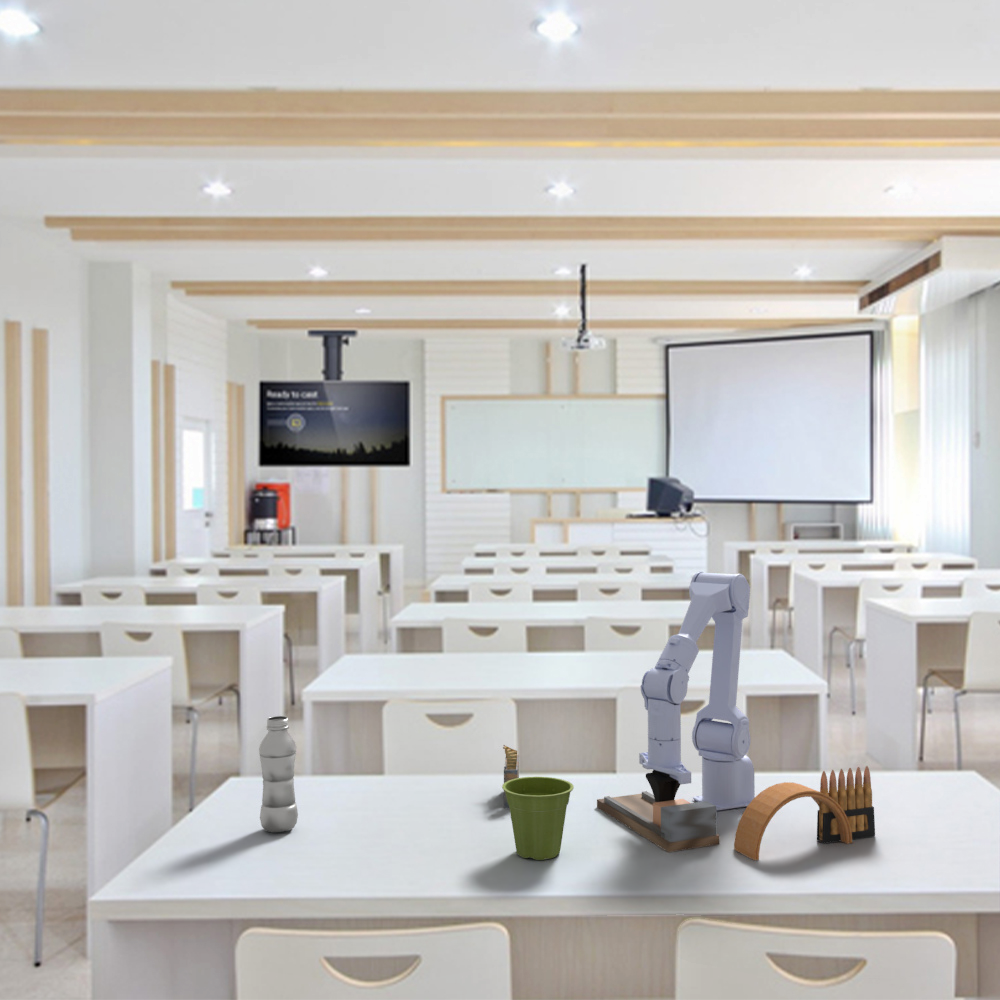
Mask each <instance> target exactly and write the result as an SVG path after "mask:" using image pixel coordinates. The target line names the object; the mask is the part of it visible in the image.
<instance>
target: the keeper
mask: <svg viewBox="0 0 1000 1000" xmlns="http://www.w3.org/2000/svg"><path fill="white" fill-rule="evenodd" d="M688 803H691V802H690V801H688V800H686V799H684V798H677V799H674V800H670V801H662V802H655V803H653V823H655V824H657V825H658V826H660V827H661V807H666V806H673V805H681V804H688Z"/></svg>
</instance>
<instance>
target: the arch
mask: <svg viewBox="0 0 1000 1000" xmlns="http://www.w3.org/2000/svg"><path fill="white" fill-rule="evenodd" d="M808 797H809V798H811V799H812V800H813V801H814V802H815V803H816V804H817V806H818V807H819V801H821V802H823V803H825V804H826V805H827V806H828V807H829V811H830V812H833V814H834V815H835V817H836V820H837V823H838V834H840V836H841V841H840V842H842V843H845V844H847V845H849V844H853V839H852V832H851V828H850V824H849V821H848V818H847V816H846V814H845V812H844V811H843V809H842V808H841V806H840V805H839V804H838V803H837V802H836V801H835V800H834V799H832V798H831V797H830V796H828V795H826V794H823V793H821V792H820V790H819V791H818V790H816V789H814V788H811V787H808V786H805V785H803V784H800V783H796V782H790V781H789V782H786V781H785V782H780V783H776V784H774V785H773V784H772V785H771V786H768V787H766V788H765V789H764V790H761V792H760V793H758V794H756V795H755V798H754V799H753V800H752V801H751V802H750V804H749V805H748V806H746V808H745V810H744V811H743V813H742V815H741V817H740V820H739V821H738V824H737V828H736V831H735V834H734V835H735V836H734V843H733V850H734V851H737V852H738V853H740V854H741V855H744V856H745V857H747V858H749V859H751V860H753V861H759V860H760V849H761V844H762V839H763V836H764V834H765V831H766V829H767V827H768V825H769V823H770V822H771V820H772V819H773V817H774V816H775V815H776V814H777V812H779V810H781V809H782V808H783V807H784V806H785V805H787V804H789V803H790V802H792V801H795V800H797V799H800V798H801V799H802V798H808Z"/></svg>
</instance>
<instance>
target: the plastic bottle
mask: <svg viewBox="0 0 1000 1000" xmlns="http://www.w3.org/2000/svg"><path fill="white" fill-rule="evenodd" d="M288 729H290V725H289V717H288V716H286V715H277V716H270V717H267V720H266V731H267V733H266V735H265V736H264V738H263V739H262V741H261V742H260V745H259V748H258V753H259V760H260V766H261V773H262V797H261V799H262V800H261V805H260V807H261V808H260V814H259V820H260V825H261V827H262V828H263V830H264V831H265V832H269V833H282V832H283V833H284V832H287V831H291V830H292V829H294V828H295V827H296V825H297V822H298V818H299V813H298V806H297V802H296V795H295V793H296V792H295V786H294V785H295V784H294V783H295V782H294V781H295V779H294V777H295V763H296V755H297V744H296V742H295V739H294V738H293V736H292V735H291V734H290V733H289V731H288Z"/></svg>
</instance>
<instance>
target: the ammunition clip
mask: <svg viewBox="0 0 1000 1000" xmlns="http://www.w3.org/2000/svg"><path fill="white" fill-rule="evenodd" d="M870 771H871V770H870V768H869V767H868V765H865V768H864V772H863V775H862V771H861V768H860V766H857V768H856V771H855V775H854V773H853V770H852V768H851V767H849V768H848V770H847V774H846V777H845V772H844V770H843V769H842V768H840V770H839V773H838V780H837V777H836V772H835V770H834V769H831V771H830V775H829V780H828V776H827V773H826V771H825V770H823V771H822V773H821V777H820V788H819V789H820V790H819V792H821V793H823V794H826V795H828V796H830V797H831V798H832V799H834V800H835V801H836V802H837V803H838V804H839V805H840V806H841V808H842V809H843V811H844V812H845V814H846V816H847V818H848V821H849V824H850V828H851V832H852V840H858V839H865V838H866V839H867V838H874V837H875V836H876V826H875V825H876V824H875V807H874V806H873V789H872V782H871V781H872V780H871V779H872V778H871V772H870ZM816 815H817V820H816V821H817V822H816V840H817V841H818V842H820V843H821V844H829V843H836V842H837V843H838V842H841V836H840V834H838V823H837V820H836V817H835V815H834V814H833V812H830V811H829V807H828V806H827V805H826V804H825V803H823V802H821V801H819V806H818V809H817V814H816Z"/></svg>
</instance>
